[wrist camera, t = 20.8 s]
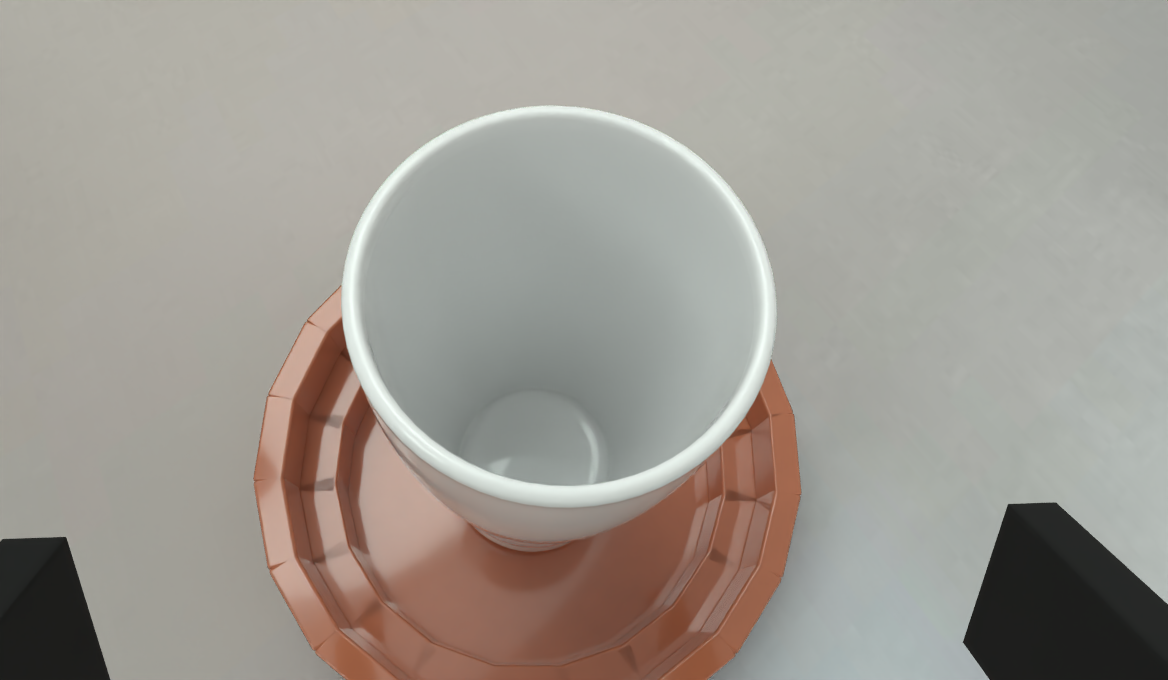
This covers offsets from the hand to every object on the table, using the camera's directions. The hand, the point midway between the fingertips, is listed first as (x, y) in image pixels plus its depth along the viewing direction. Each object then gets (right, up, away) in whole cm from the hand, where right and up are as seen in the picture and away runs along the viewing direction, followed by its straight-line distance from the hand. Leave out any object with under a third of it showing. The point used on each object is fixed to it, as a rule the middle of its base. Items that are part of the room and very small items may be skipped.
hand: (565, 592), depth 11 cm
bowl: (-2, -1, +15) cm, 15 cm away
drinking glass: (-1, -1, +15) cm, 15 cm away
